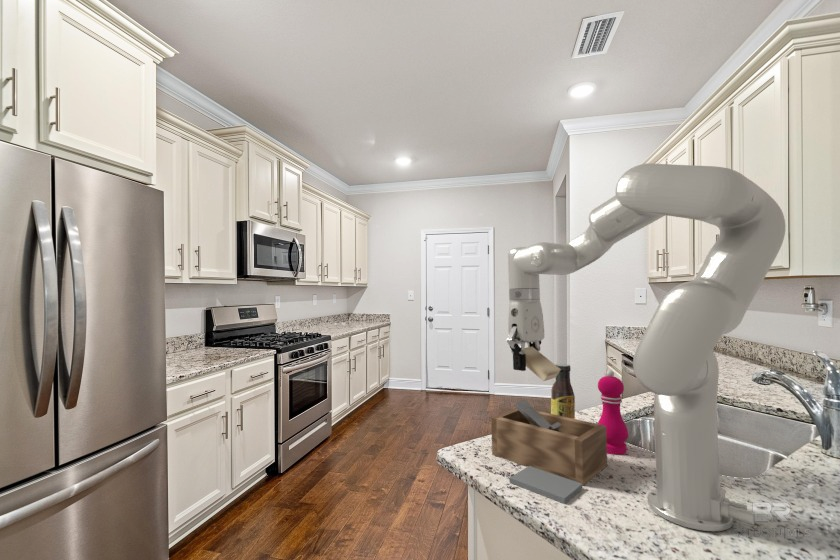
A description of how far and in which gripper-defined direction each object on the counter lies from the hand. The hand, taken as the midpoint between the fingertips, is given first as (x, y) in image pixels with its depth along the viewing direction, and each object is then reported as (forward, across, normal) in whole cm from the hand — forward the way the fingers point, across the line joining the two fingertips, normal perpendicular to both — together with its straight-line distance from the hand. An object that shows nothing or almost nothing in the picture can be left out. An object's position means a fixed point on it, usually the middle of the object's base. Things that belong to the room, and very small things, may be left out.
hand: (526, 367), depth 97 cm
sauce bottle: (+21, +17, 0) cm, 27 cm away
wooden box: (+21, 0, -5) cm, 22 cm away
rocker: (+15, 0, -4) cm, 16 cm away
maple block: (0, 0, -2) cm, 2 cm away
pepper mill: (+22, +17, -14) cm, 31 cm away
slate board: (+21, -12, -10) cm, 27 cm away
